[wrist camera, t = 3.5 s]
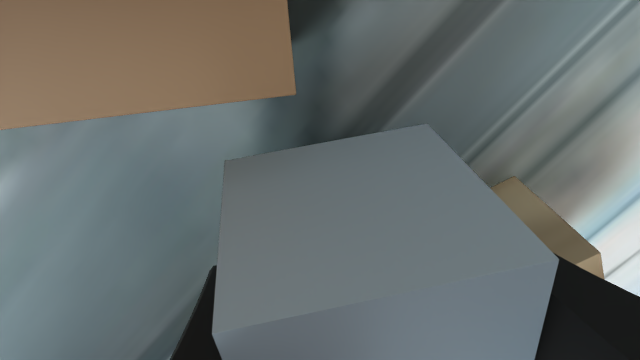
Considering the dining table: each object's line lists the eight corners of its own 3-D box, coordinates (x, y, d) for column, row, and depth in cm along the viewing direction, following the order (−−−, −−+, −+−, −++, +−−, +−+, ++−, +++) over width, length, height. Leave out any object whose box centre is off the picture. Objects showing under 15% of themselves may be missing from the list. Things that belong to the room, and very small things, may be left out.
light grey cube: (424, 271, 13) (514, 437, 9) (265, 304, 12) (277, 496, 8) (427, 123, 10) (558, 259, 6) (224, 161, 10) (211, 334, 6)
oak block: (533, 249, 16) (612, 334, 13) (440, 294, 17) (492, 387, 13) (513, 174, 14) (600, 252, 11) (406, 228, 14) (457, 319, 11)
